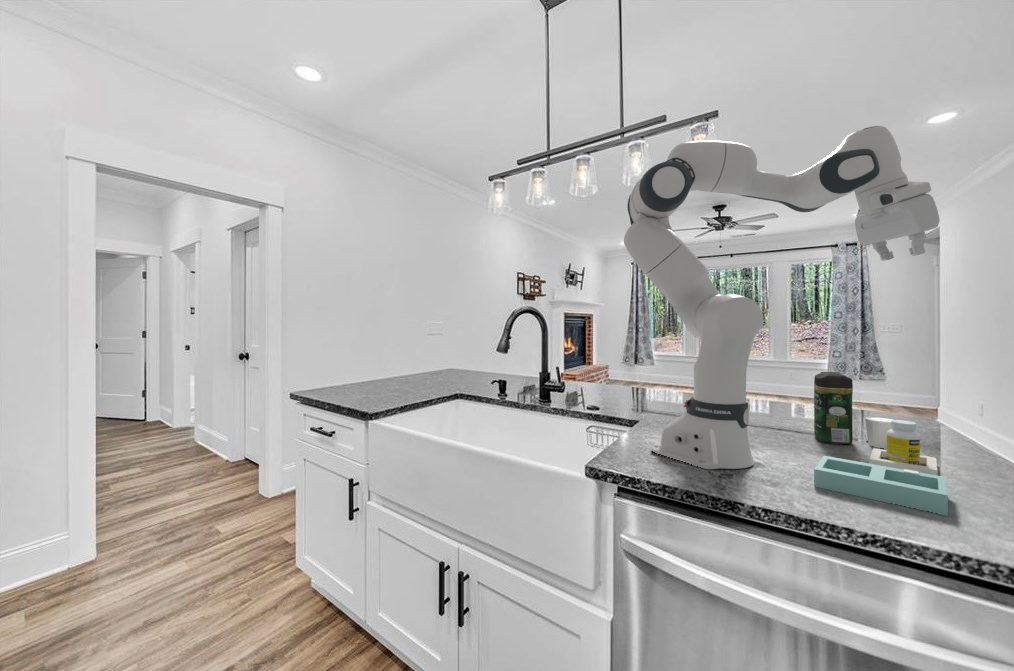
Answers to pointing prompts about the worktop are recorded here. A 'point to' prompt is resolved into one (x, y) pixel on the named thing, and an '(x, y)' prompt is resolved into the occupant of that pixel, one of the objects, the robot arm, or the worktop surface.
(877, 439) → the white round container
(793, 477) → the worktop surface
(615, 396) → the worktop surface
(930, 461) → the white shallow tray
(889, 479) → the block
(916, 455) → the supplement bottle
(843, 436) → the coffee jar
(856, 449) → the worktop surface
